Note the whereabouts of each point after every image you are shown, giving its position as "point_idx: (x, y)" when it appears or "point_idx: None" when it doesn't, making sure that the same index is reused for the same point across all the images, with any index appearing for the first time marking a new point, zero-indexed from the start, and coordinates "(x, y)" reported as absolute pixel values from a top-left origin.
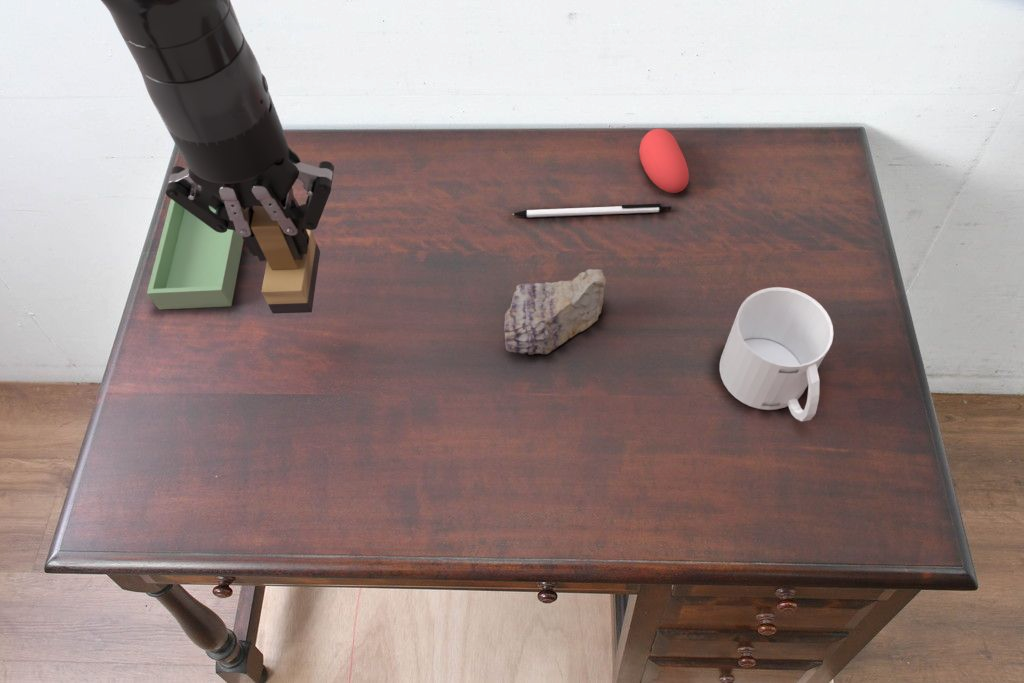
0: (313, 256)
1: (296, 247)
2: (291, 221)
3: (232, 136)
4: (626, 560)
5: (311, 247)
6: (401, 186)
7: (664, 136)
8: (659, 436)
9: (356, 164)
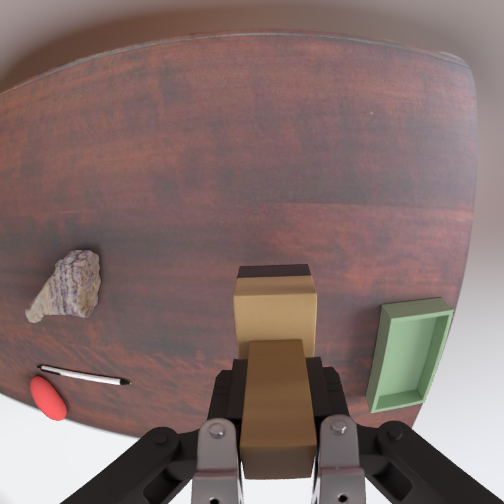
0: None
1: (230, 386)
2: (198, 458)
3: None
4: (21, 84)
5: None
6: None
7: (45, 414)
8: (5, 183)
9: None
